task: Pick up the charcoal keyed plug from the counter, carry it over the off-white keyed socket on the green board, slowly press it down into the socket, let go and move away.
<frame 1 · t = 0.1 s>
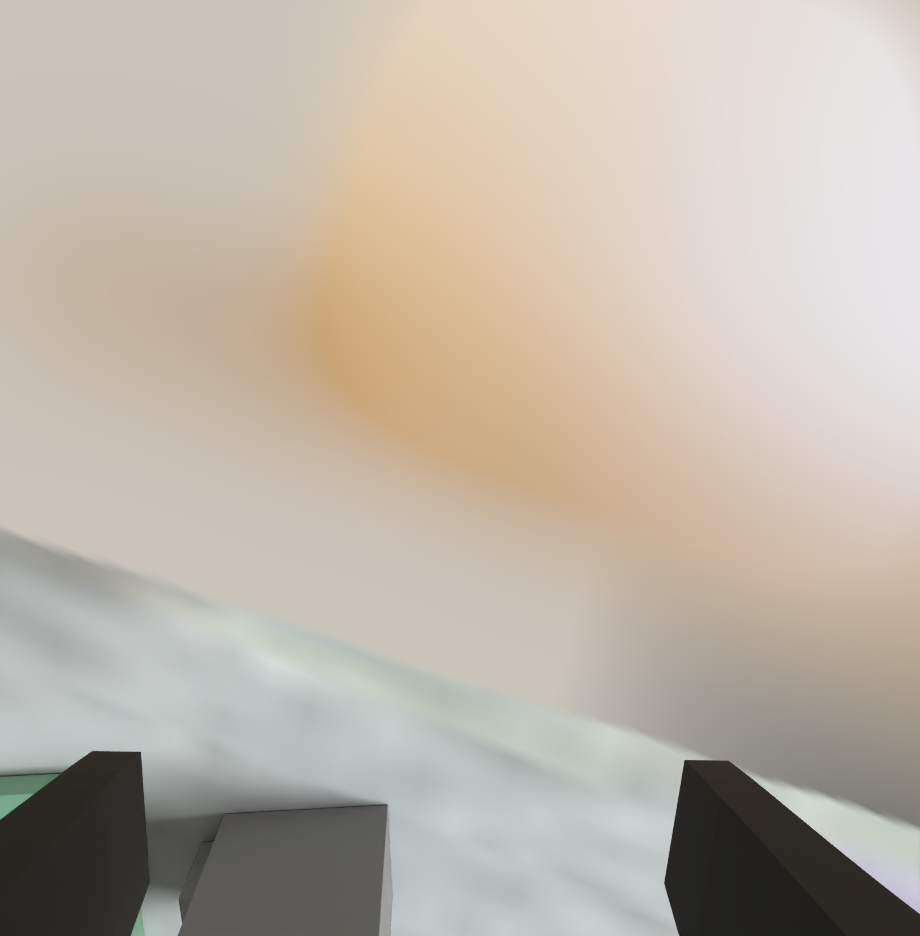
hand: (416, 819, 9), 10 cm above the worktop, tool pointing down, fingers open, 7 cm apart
plug: (310, 855, 21), on the worktop
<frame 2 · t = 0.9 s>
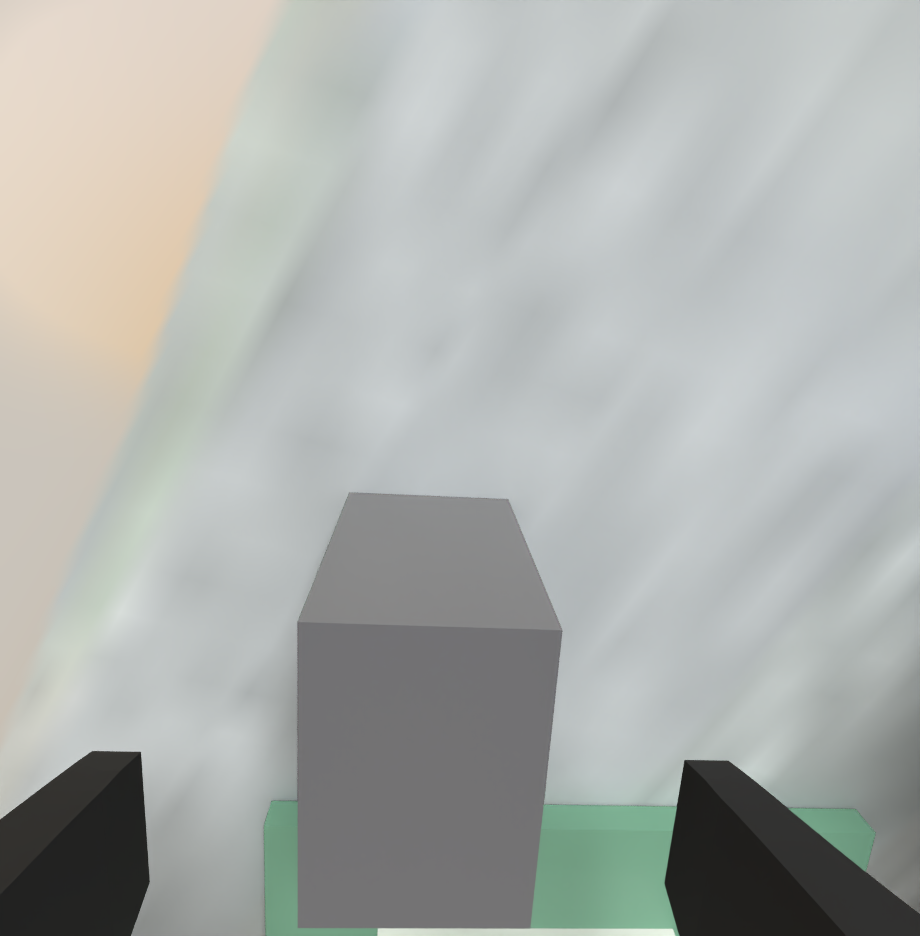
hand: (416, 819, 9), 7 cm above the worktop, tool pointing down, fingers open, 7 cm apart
plug: (424, 600, 15), on the worktop
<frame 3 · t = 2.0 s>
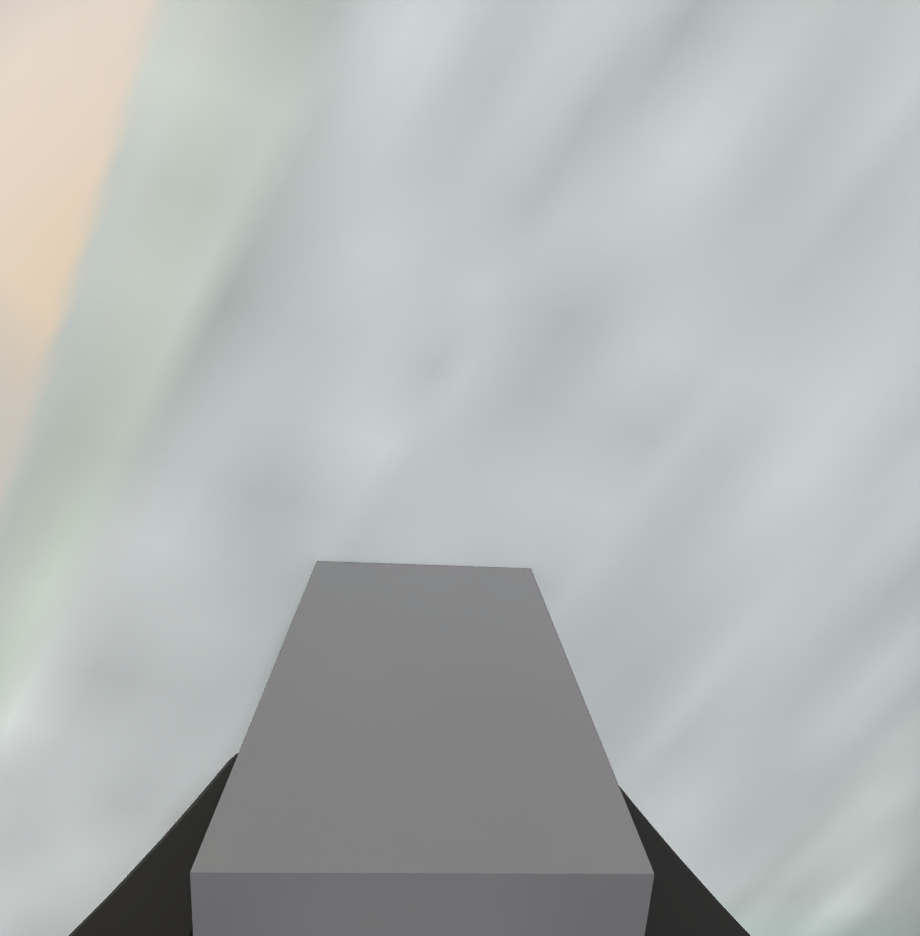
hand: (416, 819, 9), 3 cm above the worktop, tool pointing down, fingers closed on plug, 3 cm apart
plug: (418, 699, 11), on the worktop, touching gripper
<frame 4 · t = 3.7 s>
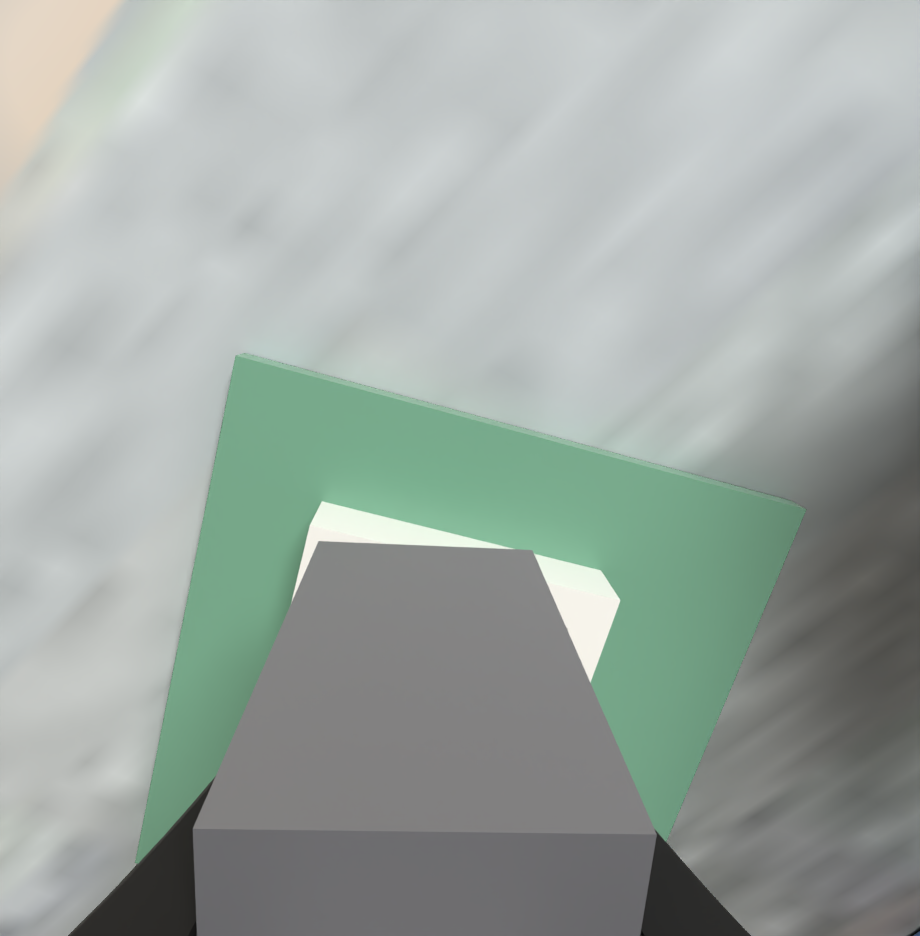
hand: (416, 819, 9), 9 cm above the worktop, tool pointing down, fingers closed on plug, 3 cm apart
plug: (418, 681, 11), point 7 cm above the worktop, touching gripper
header board: (454, 678, 19), on the worktop
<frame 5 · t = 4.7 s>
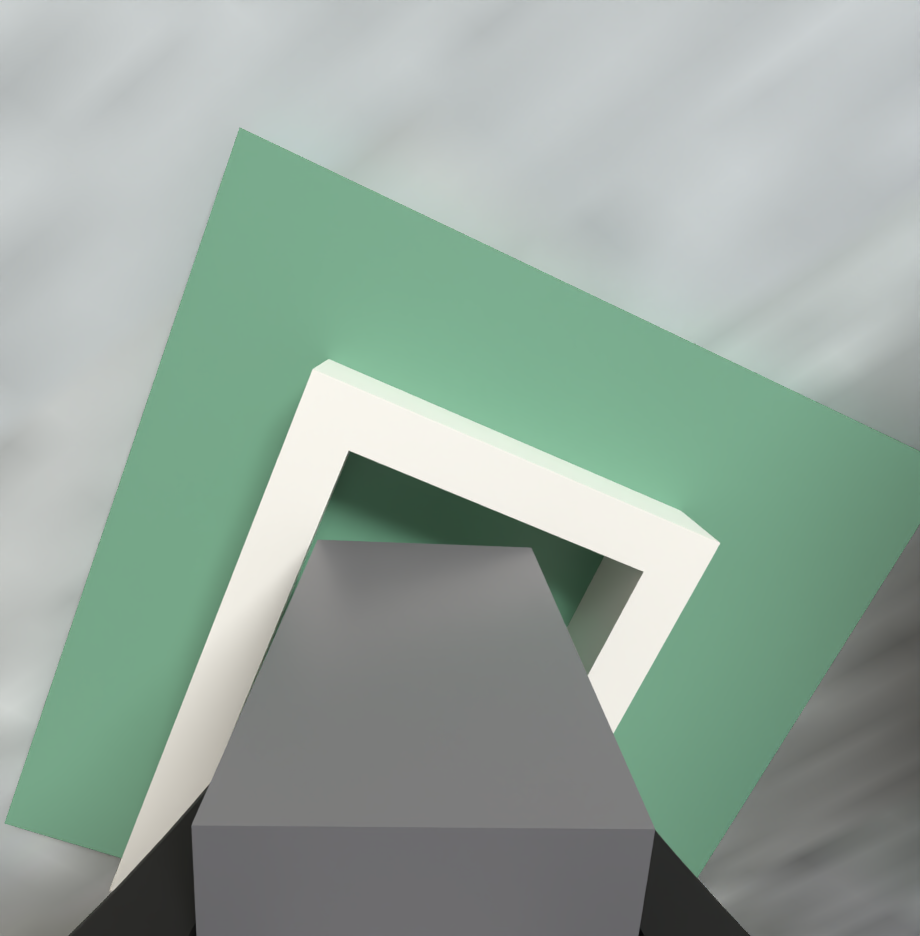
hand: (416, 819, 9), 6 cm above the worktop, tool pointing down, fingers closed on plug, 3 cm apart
plug: (418, 679, 11), point 3 cm above the worktop, touching gripper
header board: (462, 632, 14), on the worktop
when the fingers open (4 cm above the worktop, at t = 5.4 s): plug stays where it is, resting on header board.
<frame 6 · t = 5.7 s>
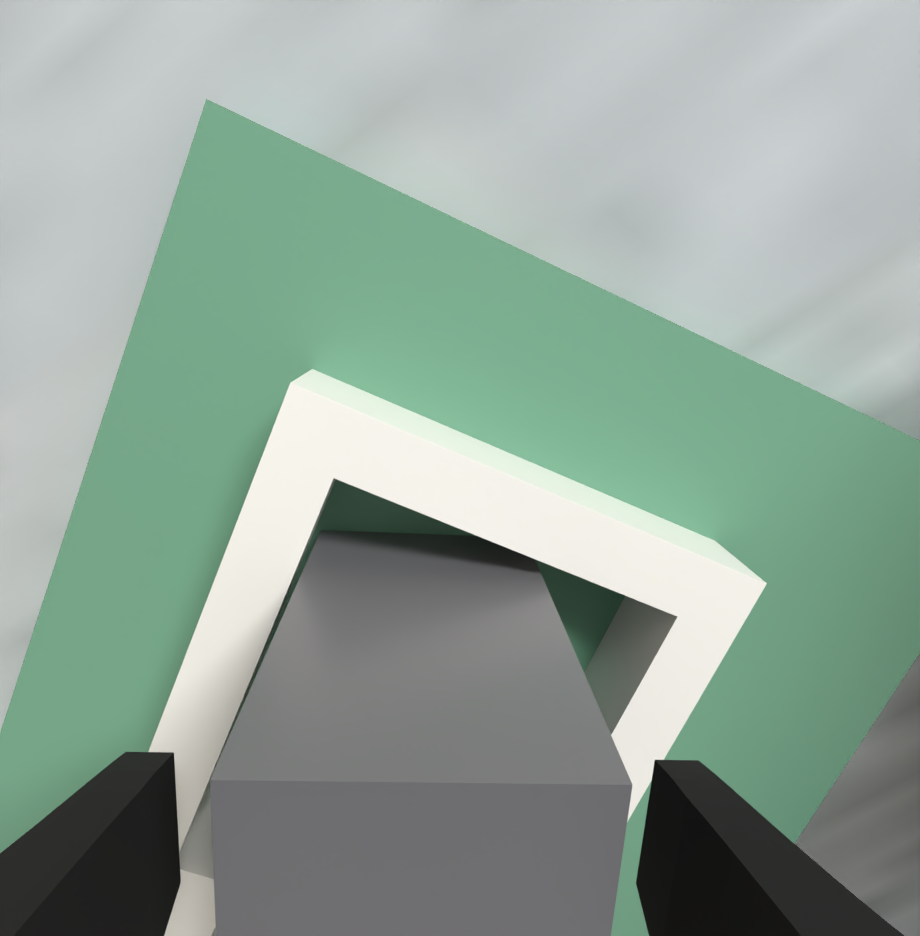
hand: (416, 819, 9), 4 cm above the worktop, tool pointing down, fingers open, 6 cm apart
plug: (417, 664, 12), point 1 cm above the worktop, touching header board
header board: (465, 674, 13), on the worktop
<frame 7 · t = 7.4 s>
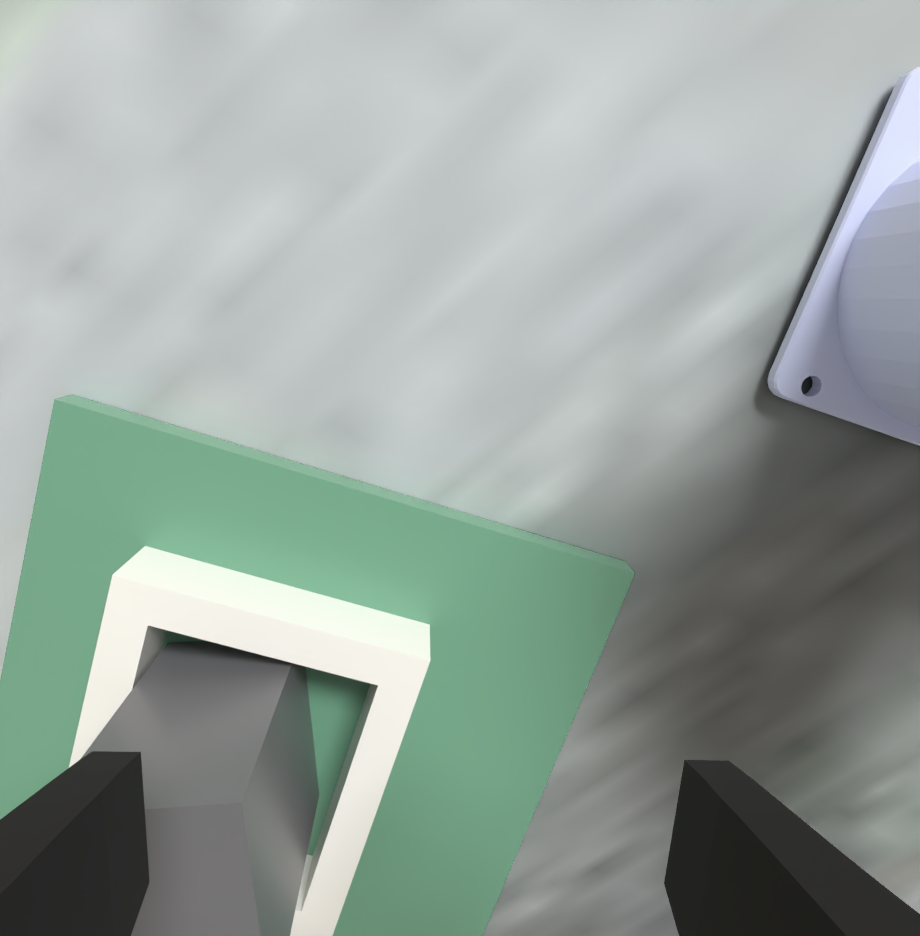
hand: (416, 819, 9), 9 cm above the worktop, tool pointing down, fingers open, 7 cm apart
plug: (246, 721, 18), point 1 cm above the worktop, touching header board
header board: (290, 722, 19), on the worktop
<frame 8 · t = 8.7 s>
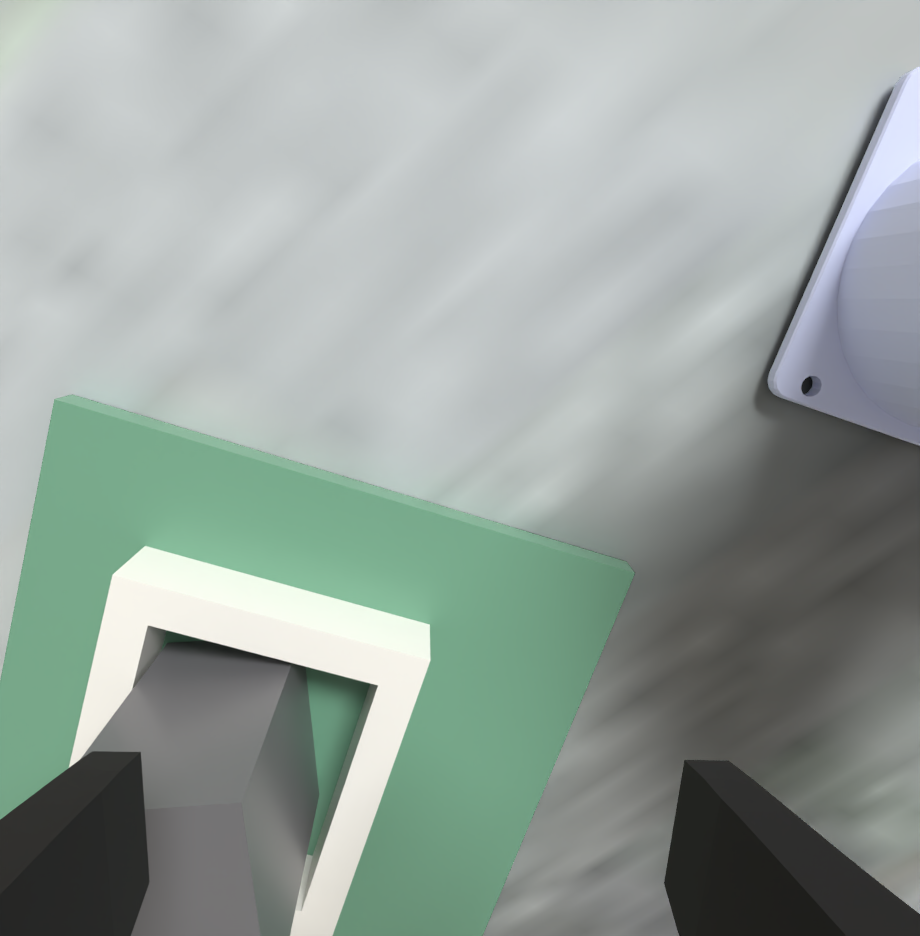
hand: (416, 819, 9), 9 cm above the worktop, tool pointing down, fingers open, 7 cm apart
plug: (246, 721, 18), point 1 cm above the worktop, touching header board
header board: (290, 722, 19), on the worktop
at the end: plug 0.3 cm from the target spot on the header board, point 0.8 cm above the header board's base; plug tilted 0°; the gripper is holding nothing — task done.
